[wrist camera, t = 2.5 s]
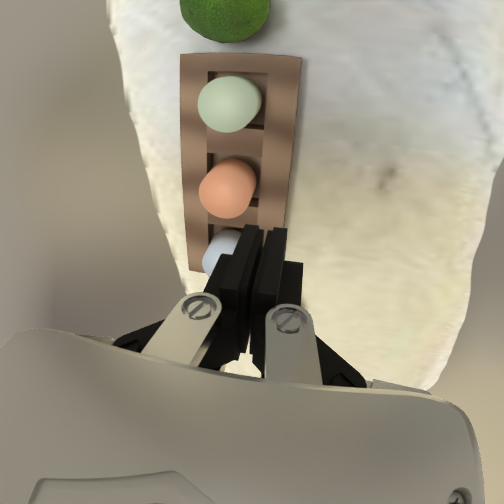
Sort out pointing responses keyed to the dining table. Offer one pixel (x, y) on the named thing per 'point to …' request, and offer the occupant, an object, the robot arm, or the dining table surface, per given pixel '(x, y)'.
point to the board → (237, 142)
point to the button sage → (229, 103)
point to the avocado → (225, 18)
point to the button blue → (219, 248)
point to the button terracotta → (228, 188)
